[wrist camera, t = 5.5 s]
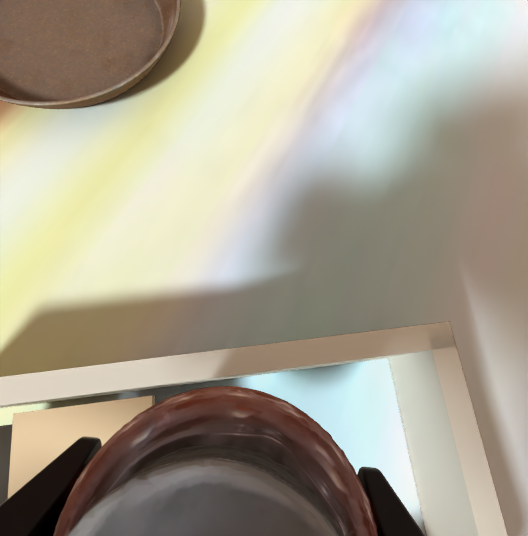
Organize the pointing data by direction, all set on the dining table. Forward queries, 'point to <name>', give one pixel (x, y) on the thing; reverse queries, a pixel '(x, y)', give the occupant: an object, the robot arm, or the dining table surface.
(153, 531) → the supplement bottle
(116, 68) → the plant saucer
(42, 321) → the dining table surface
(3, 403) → the frame
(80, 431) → the trapdoor
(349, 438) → the dining table surface
